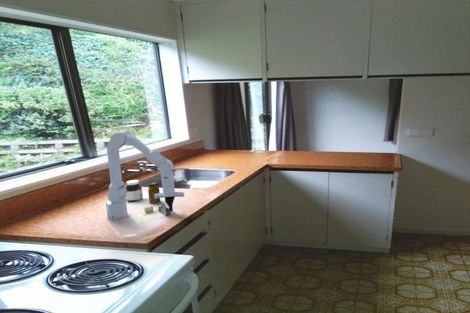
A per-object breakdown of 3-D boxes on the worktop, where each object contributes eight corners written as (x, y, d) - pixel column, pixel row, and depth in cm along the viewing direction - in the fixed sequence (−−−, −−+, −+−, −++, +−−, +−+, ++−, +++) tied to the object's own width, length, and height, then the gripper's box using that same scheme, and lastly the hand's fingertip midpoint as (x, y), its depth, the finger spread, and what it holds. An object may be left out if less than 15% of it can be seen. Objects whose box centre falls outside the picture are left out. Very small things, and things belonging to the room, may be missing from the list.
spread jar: (136, 203, 182) (134, 183, 180) (118, 203, 185) (116, 183, 183) (146, 196, 194) (144, 178, 192) (129, 196, 196) (127, 178, 194)
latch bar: (157, 209, 167) (157, 203, 166) (163, 208, 168) (163, 202, 168) (165, 216, 157) (164, 209, 156) (171, 214, 158) (170, 208, 158)
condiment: (150, 202, 183) (147, 182, 181) (165, 201, 184) (163, 181, 182) (147, 206, 176) (145, 185, 174) (163, 205, 177) (161, 184, 175)
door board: (138, 226, 149) (137, 224, 149) (129, 218, 160) (129, 216, 160) (177, 215, 160) (177, 213, 160) (167, 208, 171) (166, 206, 171)
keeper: (145, 213, 163) (145, 208, 162) (144, 212, 164) (144, 207, 164) (153, 211, 165) (153, 206, 164) (152, 210, 166) (151, 206, 166)
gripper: (184, 181, 161) (186, 207, 164) (155, 183, 162) (158, 209, 164) (181, 185, 154) (184, 212, 157) (151, 187, 155) (155, 214, 157)
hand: (171, 211), depth 160 cm, fingers closed, pressing on latch bar
